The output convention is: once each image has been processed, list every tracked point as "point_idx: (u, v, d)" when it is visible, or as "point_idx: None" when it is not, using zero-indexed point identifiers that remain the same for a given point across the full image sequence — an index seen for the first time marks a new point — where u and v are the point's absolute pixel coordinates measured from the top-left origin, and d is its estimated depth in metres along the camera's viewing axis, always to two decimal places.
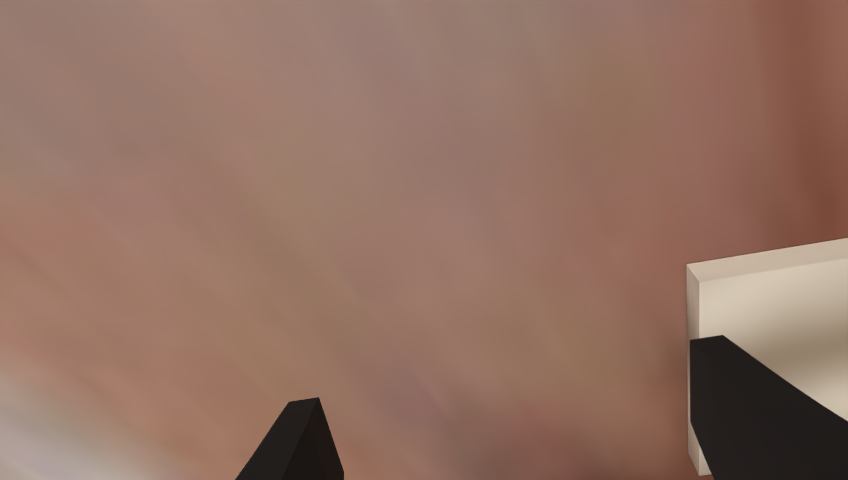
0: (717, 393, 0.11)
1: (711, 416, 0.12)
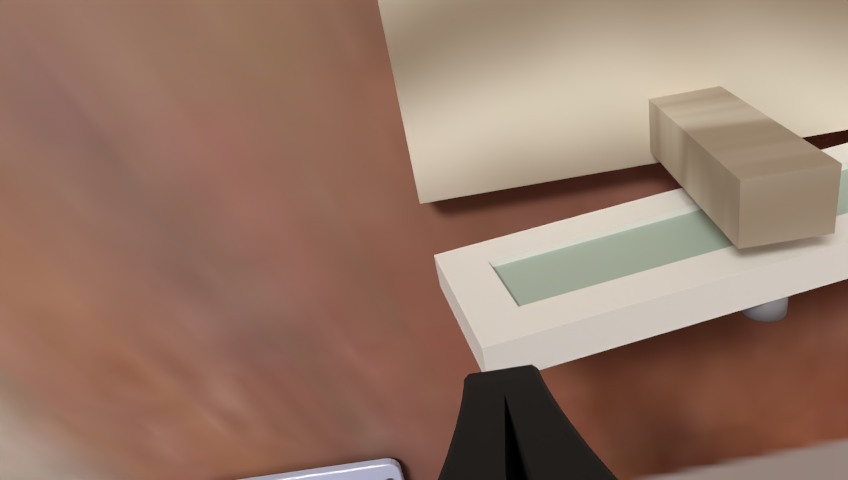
0: (511, 423, 0.11)
1: (513, 445, 0.12)
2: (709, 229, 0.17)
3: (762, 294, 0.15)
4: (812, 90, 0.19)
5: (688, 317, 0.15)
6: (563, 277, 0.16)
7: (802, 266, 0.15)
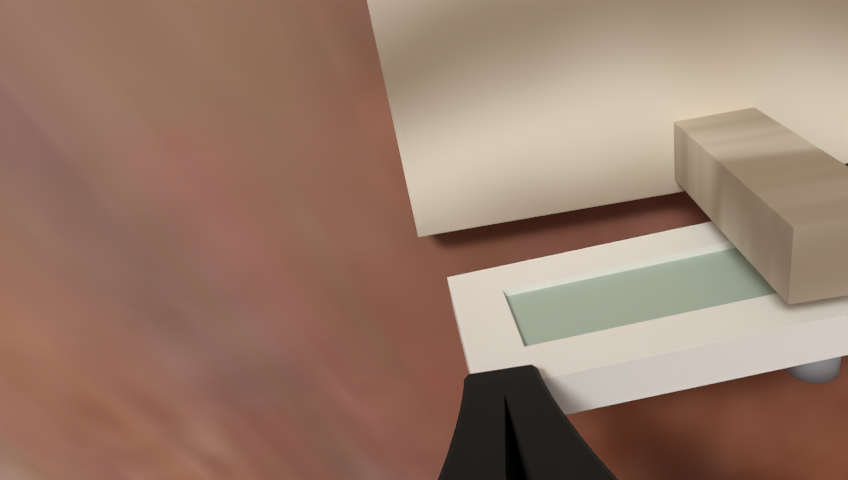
0: (510, 424, 0.11)
1: (513, 445, 0.12)
2: (755, 269, 0.15)
3: (808, 352, 0.13)
4: None
5: (717, 373, 0.13)
6: (580, 315, 0.15)
7: None
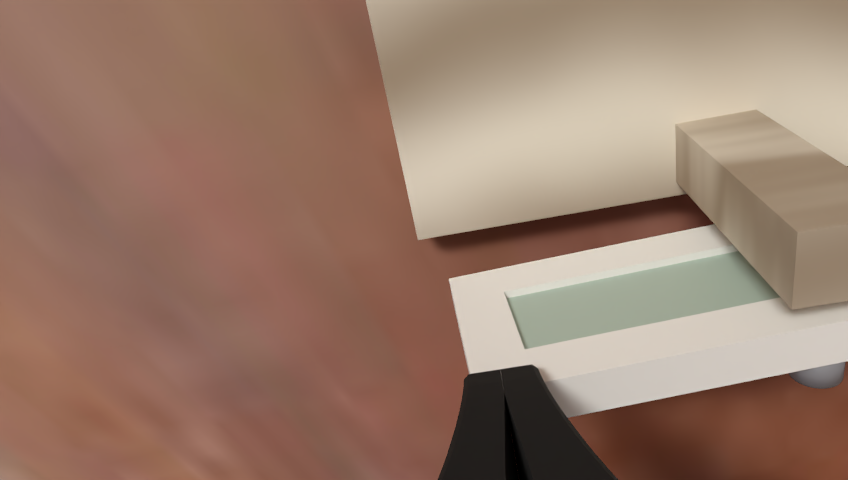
0: (510, 424, 0.11)
1: (513, 445, 0.12)
2: None
3: (811, 358, 0.13)
4: None
5: (719, 377, 0.13)
6: (582, 318, 0.15)
7: None
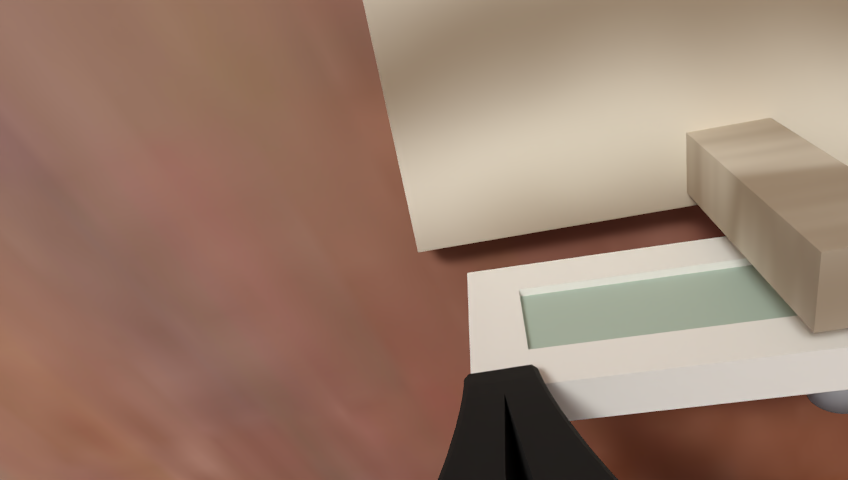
0: (510, 424, 0.11)
1: (513, 445, 0.12)
2: None
3: (828, 381, 0.12)
4: None
5: (725, 393, 0.13)
6: (592, 322, 0.14)
7: None
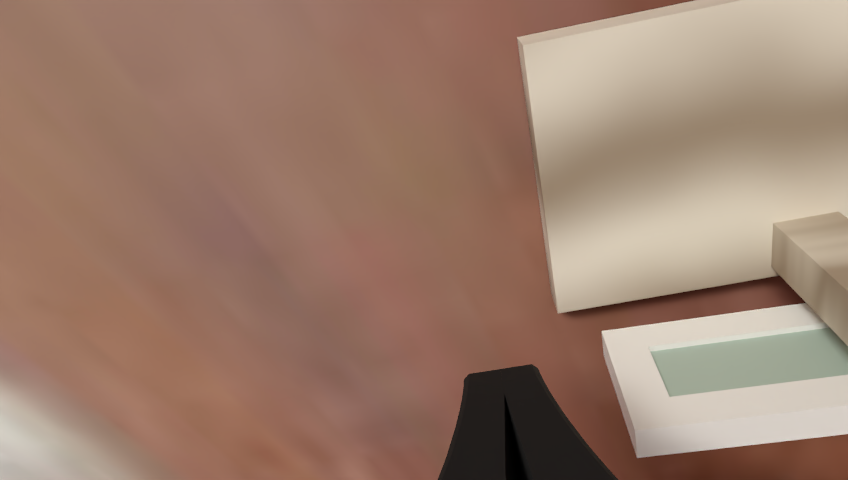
0: (510, 423, 0.11)
1: (513, 445, 0.12)
2: None
3: None
4: None
5: (821, 430, 0.17)
6: (712, 374, 0.19)
7: None
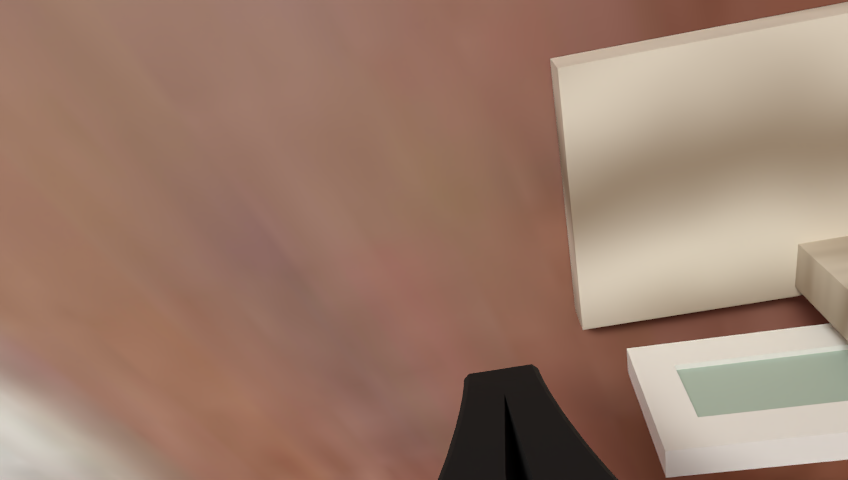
0: (510, 423, 0.11)
1: (513, 445, 0.12)
2: None
3: None
4: None
5: None
6: (739, 394, 0.19)
7: None
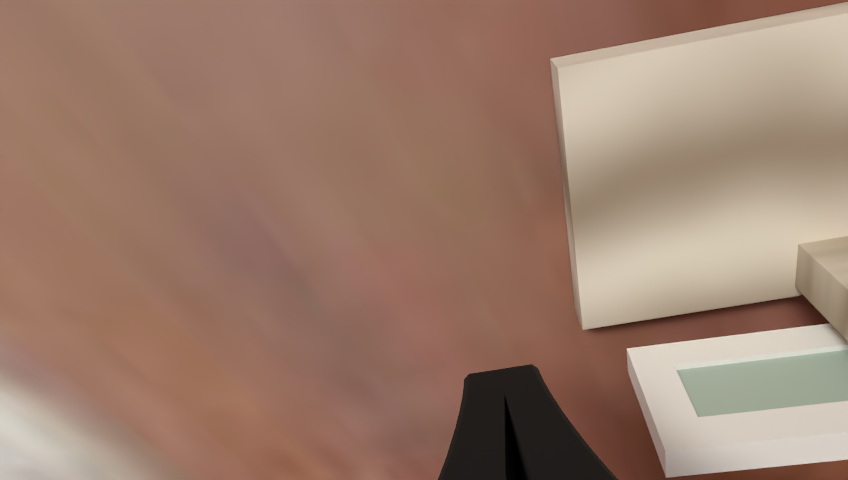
0: (510, 423, 0.11)
1: (513, 445, 0.12)
2: None
3: None
4: None
5: None
6: (739, 394, 0.19)
7: None
